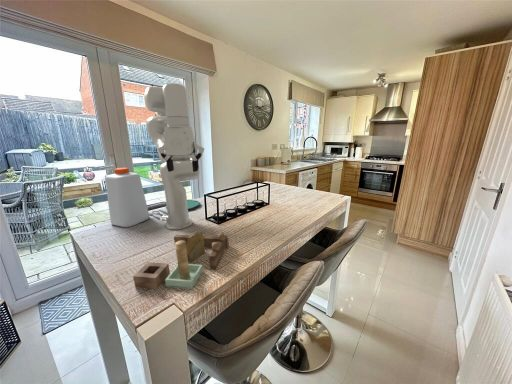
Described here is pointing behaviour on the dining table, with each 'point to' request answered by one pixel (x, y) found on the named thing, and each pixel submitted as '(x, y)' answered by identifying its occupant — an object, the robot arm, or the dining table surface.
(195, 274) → the tray
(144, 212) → the plastic bottle
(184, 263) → the dowel
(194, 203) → the cutlery set
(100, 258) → the dining table surface
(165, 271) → the holder
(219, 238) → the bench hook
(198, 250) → the rock
